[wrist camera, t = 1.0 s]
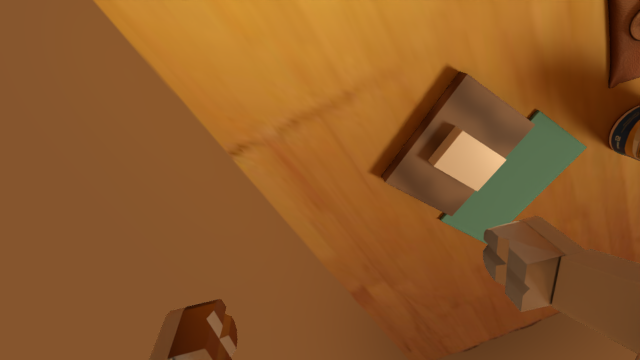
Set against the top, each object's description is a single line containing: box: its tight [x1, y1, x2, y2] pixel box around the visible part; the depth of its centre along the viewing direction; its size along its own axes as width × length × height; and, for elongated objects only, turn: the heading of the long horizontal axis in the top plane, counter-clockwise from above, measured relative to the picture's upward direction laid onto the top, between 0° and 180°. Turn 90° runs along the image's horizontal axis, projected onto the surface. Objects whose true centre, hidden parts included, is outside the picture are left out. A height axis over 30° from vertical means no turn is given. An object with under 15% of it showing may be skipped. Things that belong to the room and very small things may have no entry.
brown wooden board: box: [382, 72, 535, 217], centre depth 46 cm, size 18×14×2 cm
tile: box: [428, 126, 507, 192], centre depth 45 cm, size 6×9×2 cm, turn 59°
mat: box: [440, 110, 587, 244], centre depth 51 cm, size 22×12×1 cm, turn 149°
